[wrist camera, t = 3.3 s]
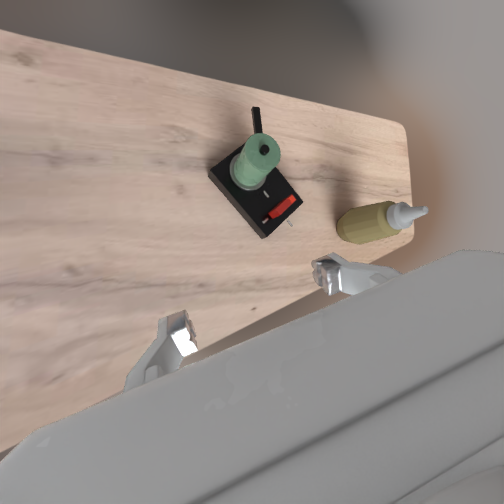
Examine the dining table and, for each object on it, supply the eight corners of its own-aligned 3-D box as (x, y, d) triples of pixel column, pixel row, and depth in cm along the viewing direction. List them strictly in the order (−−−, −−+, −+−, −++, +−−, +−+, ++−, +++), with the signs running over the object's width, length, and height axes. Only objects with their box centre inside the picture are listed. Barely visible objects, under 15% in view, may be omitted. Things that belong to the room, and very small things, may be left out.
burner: (221, 167, 43) (221, 166, 42) (248, 146, 45) (249, 144, 44) (246, 198, 44) (247, 197, 43) (272, 176, 46) (273, 175, 45)
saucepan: (213, 151, 42) (222, 123, 34) (244, 128, 44) (260, 96, 36) (248, 192, 43) (264, 175, 35) (276, 168, 45) (298, 146, 37)
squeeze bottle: (333, 247, 53) (410, 236, 36) (330, 211, 53) (403, 184, 36) (362, 245, 55) (446, 234, 38) (358, 211, 56) (440, 185, 38)
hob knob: (272, 219, 45) (280, 214, 41) (267, 213, 45) (276, 208, 41) (287, 204, 46) (297, 199, 43) (283, 199, 46) (292, 193, 42)
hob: (207, 176, 45) (210, 169, 42) (247, 145, 48) (252, 136, 45) (267, 245, 48) (273, 244, 45) (301, 212, 51) (309, 208, 48)
